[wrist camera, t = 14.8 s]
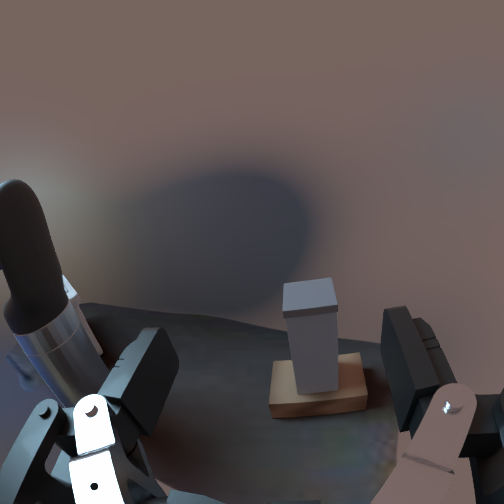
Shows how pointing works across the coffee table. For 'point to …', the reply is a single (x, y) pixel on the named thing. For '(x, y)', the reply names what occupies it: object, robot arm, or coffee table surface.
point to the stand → (322, 403)
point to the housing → (312, 334)
